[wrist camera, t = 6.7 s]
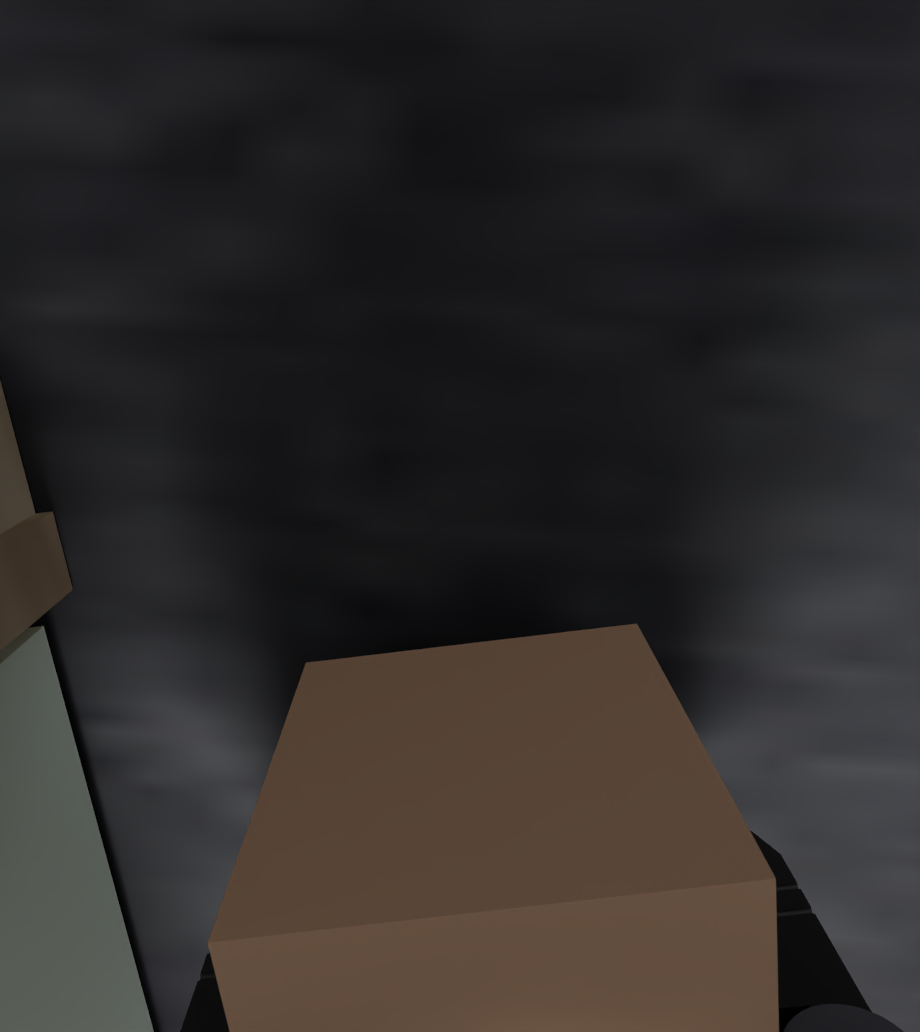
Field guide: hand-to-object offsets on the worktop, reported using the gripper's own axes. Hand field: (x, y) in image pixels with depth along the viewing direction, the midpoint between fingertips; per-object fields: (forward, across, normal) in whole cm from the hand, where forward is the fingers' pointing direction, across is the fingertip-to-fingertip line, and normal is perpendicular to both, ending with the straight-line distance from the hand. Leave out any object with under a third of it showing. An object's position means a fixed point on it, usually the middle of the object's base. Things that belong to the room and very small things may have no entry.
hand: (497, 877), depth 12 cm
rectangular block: (0, 0, 0) cm, 0 cm away
